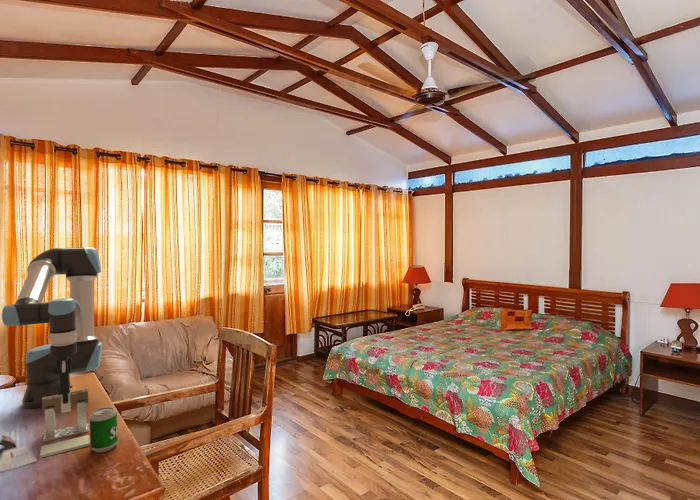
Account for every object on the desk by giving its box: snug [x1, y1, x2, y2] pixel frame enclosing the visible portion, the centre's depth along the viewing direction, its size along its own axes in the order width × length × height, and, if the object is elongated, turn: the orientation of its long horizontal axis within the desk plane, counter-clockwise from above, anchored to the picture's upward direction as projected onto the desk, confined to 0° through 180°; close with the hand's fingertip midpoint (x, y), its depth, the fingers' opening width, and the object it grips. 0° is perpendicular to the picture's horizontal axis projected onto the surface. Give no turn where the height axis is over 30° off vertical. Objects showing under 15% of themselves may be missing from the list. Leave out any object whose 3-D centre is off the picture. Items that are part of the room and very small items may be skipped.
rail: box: [41, 388, 89, 413], centre depth 141 cm, size 13×3×4 cm, turn 123°
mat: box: [38, 434, 91, 459], centre depth 131 cm, size 7×13×1 cm, turn 123°
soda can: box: [89, 406, 119, 453], centre depth 130 cm, size 8×8×12 cm
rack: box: [42, 401, 90, 443], centre depth 141 cm, size 7×13×10 cm, turn 123°
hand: (66, 409), depth 142 cm, fingers closed on rail, 3 cm apart
